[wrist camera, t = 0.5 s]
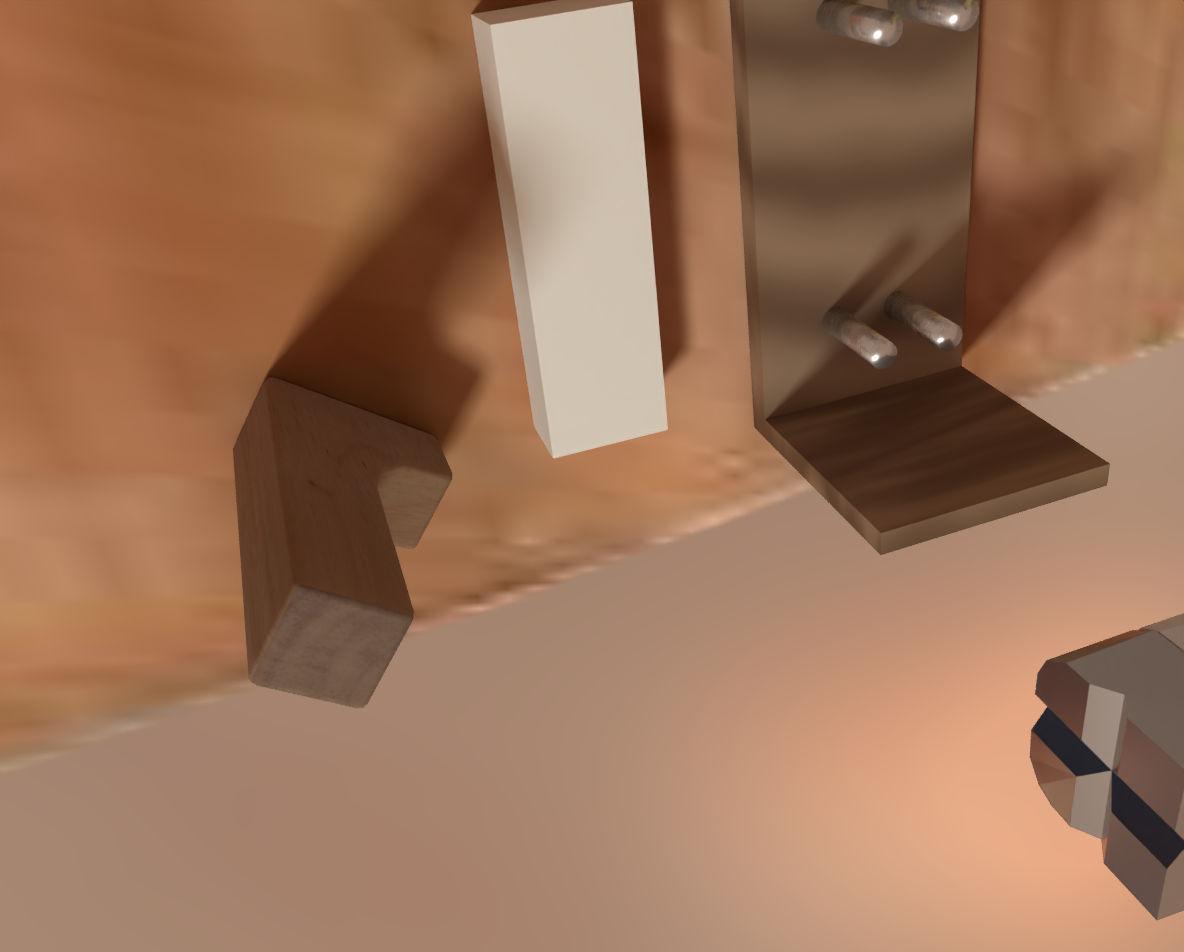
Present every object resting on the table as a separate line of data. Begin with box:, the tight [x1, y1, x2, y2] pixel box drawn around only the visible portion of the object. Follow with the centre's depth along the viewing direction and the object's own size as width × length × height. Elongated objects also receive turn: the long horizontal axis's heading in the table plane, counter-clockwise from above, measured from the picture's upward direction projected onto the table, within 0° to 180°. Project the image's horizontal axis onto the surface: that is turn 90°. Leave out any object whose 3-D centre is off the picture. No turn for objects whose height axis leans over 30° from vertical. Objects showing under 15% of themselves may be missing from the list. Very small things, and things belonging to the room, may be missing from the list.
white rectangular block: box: [471, 0, 668, 458], centre depth 51 cm, size 20×6×4 cm, turn 6°
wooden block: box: [233, 377, 452, 708], centre depth 47 cm, size 9×4×18 cm, turn 60°
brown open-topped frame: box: [730, 0, 1110, 555], centre depth 50 cm, size 27×12×14 cm, turn 8°
